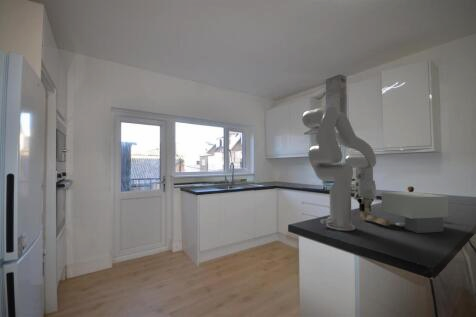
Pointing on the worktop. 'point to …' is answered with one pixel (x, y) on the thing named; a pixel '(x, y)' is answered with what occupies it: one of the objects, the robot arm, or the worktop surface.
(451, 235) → the worktop surface
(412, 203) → the grey block
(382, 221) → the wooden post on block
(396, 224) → the grey shiny disc
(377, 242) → the worktop surface
